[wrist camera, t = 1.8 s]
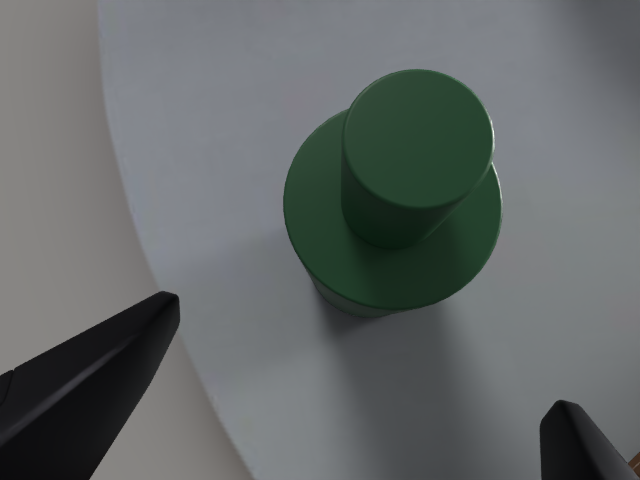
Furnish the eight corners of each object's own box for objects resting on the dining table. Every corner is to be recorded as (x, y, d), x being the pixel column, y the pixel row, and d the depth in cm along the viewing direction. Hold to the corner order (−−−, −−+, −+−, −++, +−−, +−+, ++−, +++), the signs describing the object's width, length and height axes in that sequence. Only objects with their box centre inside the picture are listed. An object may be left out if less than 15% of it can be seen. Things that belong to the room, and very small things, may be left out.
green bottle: (400, 338, 21) (519, 363, 7) (288, 286, 21) (198, 216, 8) (446, 227, 22) (632, 58, 8) (338, 181, 22) (336, -47, 9)
